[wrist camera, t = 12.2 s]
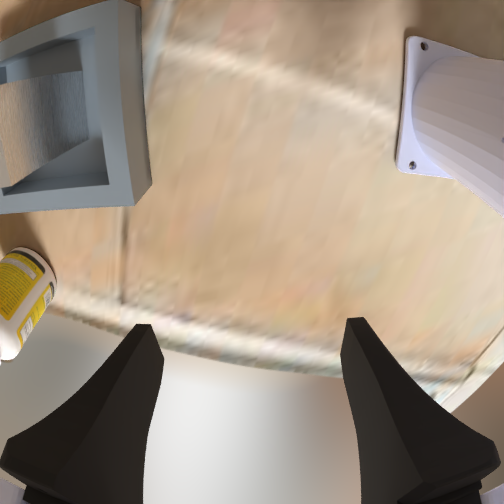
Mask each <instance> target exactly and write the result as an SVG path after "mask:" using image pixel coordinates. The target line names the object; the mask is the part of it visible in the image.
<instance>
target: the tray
mask: <svg viewBox="0 0 504 504" xmlns="http://www.w3.org/2000/svg"><path fill="white" fill-rule="evenodd" d="M75 71H83V78H84V91H85V102H86V112H87V121H88V129H89V136H90V139H89V140H87V141H85V142H83V143H81V144H79V145H78V146H76V147H74V148H72V149H70V150H69V151H67V152H65V153H63V154H62V155H60V156H58V157H56V158H55V159H53V160H51V161H50V162H48V163H46V164H45V165H43V166H42V167H40V168H38V169H37V170H35V171H34V172H32V173H30V174H29V175H27V176H26V177H24V178H23V179H21V180H20V181H18V182H17V183H15V184H14V185H12V186H9V187H3V188H0V214H10V213H21V212H34V211H47V210H62V209H79V208H97V207H119V206H135V205H136V204H137V202H138V201H139V200H140V199H141V197H142V196H143V195H144V194H145V193H146V191H147V190H148V189H149V188H150V186H151V185H152V179H151V171H150V162H149V153H148V143H147V133H146V122H145V109H144V95H143V78H142V54H141V7H139V6H137V5H134V4H132V3H130V2H128V1H125V0H108V1H104V2H100V3H97V4H93V5H90V6H87V7H84V8H81V9H78V10H75V11H72V12H69V13H66V14H63V15H60V16H58V17H55V18H53V19H50V20H48V21H45V22H43V23H40V24H38V25H35V26H33V27H31V28H29V29H26V30H24V31H22V32H20V33H18V34H16V35H14V36H12V37H10V38H8V39H6V40H4V41H2V42H0V85H2V84H6V83H10V82H15V81H19V80H24V79H30V78H35V77H41V76H47V75H53V74H60V73H67V72H75Z"/></svg>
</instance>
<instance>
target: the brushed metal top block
mask: <svg viewBox="0 0 504 504" xmlns="http://www.w3.org/2000/svg"><path fill="white" fill-rule="evenodd" d="M89 139H90V136H89V129H88V121H87V112H86V102H85V91H84V78H83V71H75V72H67V73H60V74H53V75H47V76H41V77H35V78H30V79H24V80H19V81H15V82H10V83H6V84H2V85H0V188H3V187H9V186H12V185H14V184H15V183H17V182H18V181H20V180H21V179H23V178H24V177H26V176H27V175H29V174H30V173H32V172H34V171H35V170H37V169H38V168H40V167H42V166H43V165H45V164H46V163H48V162H50V161H51V160H53V159H55V158H56V157H58V156H60V155H62V154H63V153H65V152H67V151H69V150H70V149H72V148H74V147H76V146H78V145H79V144H81V143H83V142H85V141H87V140H89Z"/></svg>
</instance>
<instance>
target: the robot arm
mask: <svg viewBox="0 0 504 504" xmlns="http://www.w3.org/2000/svg"><path fill="white" fill-rule="evenodd" d="M421 43H424V45H425V50H422V48H421V46H420V45H421ZM411 161H414V165H413V167H411V168H409V164H410V162H411ZM395 165H396V168H397V169H398V170H399V171H401V172H403V173H411V174H420V175H428V176H436V177H444V178H451V179H456V180H457V181H458V182H460V183H461V184H462V185H464V186H465V187H466V188H468V189H469V190H470V191H471V192H473V193H474V194H475V195H477V196H478V197H479V198H480V199H482V200H483V201H484V202H485V203H487V204H488V205H489V206H490V207H491V208H493V209H494V210H495V211H496V212H497V213H499V214H500V215H501V216H502V217H503V218H504V60H496V59H487V58H481V57H479V56H476V55H473V54H471V53H468V52H466V51H463V50H460V49H457V48H454V47H451V46H448V45H445V44H442V43H439V42H436V41H433V40H429V39H426V38H422V37H419V36H410V37H408V38H407V39H406V52H405V74H404V89H403V101H402V112H401V122H400V131H399V139H398V147H397V154H396V161H395ZM340 357H341V365H342V372H343V379H344V383H345V387H346V391H347V395H348V399H349V403H350V407H351V411H352V415H353V420H354V424H355V428H356V433H357V440H358V449H359V459H360V474H361V497H362V498H361V504H504V484H502V485H500V486H498V487H496V488H494V489H492V490H490V491H488V492H486V493H484V494H482V495H480V494H479V490H480V489H481V488H482V484H481V479H483V478H484V477H486V476H487V475H489V474H490V473H491V472H493V471H494V470H495V469H497V467H499V466H500V463H501V461H500V458H499V455H498V451H497V449H496V446H495V444H494V442H493V441H492V440H490V439H488V438H487V437H485V436H483V435H481V434H480V433H477V432H476V431H474V430H473V429H471V428H470V427H468V426H466V425H465V424H464V423H462V422H461V421H459V420H458V419H457V418H455V417H454V416H453V415H451V414H450V413H449V412H448V411H446V410H445V409H444V408H442V407H441V406H440V405H439V404H438V403H437V402H436V401H434V400H433V399H432V398H431V397H430V396H429V395H428V394H427V393H426V392H425V391H424V390H423V389H422V388H421V387H420V386H419V385H418V384H417V383H416V382H415V381H414V380H413V379H412V378H411V377H410V376H409V375H408V373H407V372H406V371H405V370H404V369H403V368H402V367H401V365H400V364H399V363H398V362H397V361H396V359H395V358H394V357H393V356H392V354H391V353H390V352H389V351H388V349H387V348H386V347H385V345H384V344H383V343H382V341H381V340H380V339H379V337H378V336H377V335H376V333H375V332H374V331H373V329H372V328H371V326H370V325H369V324H368V322H367V321H366V319H365V318H364V317H358V318H347V322H346V327H345V333H344V338H343V343H342V348H341V353H340ZM163 366H164V357H163V354H162V352H161V349H160V347H159V344H158V342H157V339H156V336H155V334H154V331H153V329H152V326H151V324H136V325H135V326H134V327H133V329H132V330H131V331H130V332H129V333H128V334H127V336H126V337H125V338H124V339H123V341H122V342H121V343H120V344H119V345H118V347H117V348H116V349H115V350H114V352H113V353H112V354H111V355H110V356H109V357H108V359H107V360H106V361H105V362H104V363H103V365H102V366H101V367H100V368H99V369H98V370H97V371H96V372H95V374H94V375H93V376H92V377H91V378H90V379H89V380H88V381H87V382H86V383H85V384H84V385H83V386H82V387H81V388H80V389H79V390H78V391H77V392H76V393H75V394H74V395H73V396H72V397H70V398H69V399H68V400H67V401H66V402H65V403H63V404H62V405H61V406H60V407H58V408H57V409H56V410H55V411H53V412H52V413H51V414H49V415H48V416H47V417H45V418H44V419H42V420H41V421H39V422H38V423H36V424H35V425H33V426H31V427H30V428H28V429H27V430H24V431H23V432H21V433H19V434H17V435H15V436H14V437H11V438H9V439H8V440H7V443H6V445H5V448H4V450H3V453H2V456H1V459H0V467H1V468H2V469H3V470H4V471H6V472H7V473H9V474H10V475H11V476H13V477H15V478H16V479H18V480H19V481H21V482H22V483H24V484H26V485H27V486H26V489H25V490H24V489H22V488H20V487H18V486H17V485H15V484H13V483H11V482H9V481H7V480H5V479H3V478H0V504H143V477H144V463H145V451H146V444H147V436H148V431H149V427H150V423H151V420H152V416H153V412H154V408H155V404H156V400H157V397H158V393H159V389H160V385H161V379H162V373H163Z"/></svg>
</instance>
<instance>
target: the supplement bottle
mask: <svg viewBox="0 0 504 504" xmlns="http://www.w3.org/2000/svg"><path fill="white" fill-rule="evenodd" d="M56 287H57V286H56V280H55V276H54V274H53V272H52V270H51V268H50V267H49V265H48V264H47V263H46V261H45V260H44V259H43V258H42V257H41V256H40V255H39V254H37V253H36V252H34V251H33V250H30V249H28V248H24V247H18V248H15V249H13V250H11V251H10V252H9V253H8V254H7V255H6V256H5V257H4V258H3V259H2V260H1V261H0V359H3V360H10V359H13V358H14V357H16V355H17V354H18V353H19V351H20V350H21V348H22V346H23V344H24V343H25V341H26V339H27V338H28V336H29V334H30V333H31V331H32V330H33V328H34V326H35V325H36V323H37V322H38V320H39V319H40V317H41V315H42V314H43V312H44V311H45V309H46V308H47V306H48V305H49V303H50V302H51V300H52V299H53V297H54V295H55V293H56ZM0 365H1V360H0Z"/></svg>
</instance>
